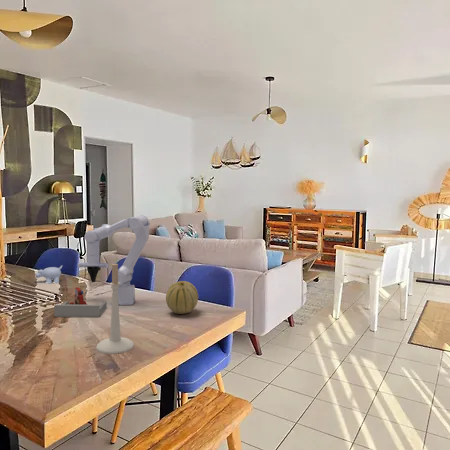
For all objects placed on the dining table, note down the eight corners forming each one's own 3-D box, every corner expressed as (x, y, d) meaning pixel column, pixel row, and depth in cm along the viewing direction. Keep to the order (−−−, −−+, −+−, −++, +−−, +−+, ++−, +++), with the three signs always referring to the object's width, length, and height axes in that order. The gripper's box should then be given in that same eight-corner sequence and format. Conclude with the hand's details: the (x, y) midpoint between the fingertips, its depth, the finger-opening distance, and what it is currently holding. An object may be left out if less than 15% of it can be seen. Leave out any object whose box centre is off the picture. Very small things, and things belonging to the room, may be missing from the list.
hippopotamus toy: (35, 280, 244) (35, 265, 243) (62, 279, 250) (62, 263, 249) (35, 284, 234) (34, 268, 233) (63, 282, 240) (63, 266, 239)
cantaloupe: (191, 307, 196) (191, 276, 194) (203, 315, 182) (203, 282, 181) (161, 310, 189) (161, 278, 188) (171, 319, 176) (171, 285, 175)
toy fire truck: (73, 317, 177) (73, 293, 176) (68, 309, 188) (68, 287, 187) (89, 314, 181) (89, 291, 180) (84, 307, 191) (84, 285, 191)
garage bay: (106, 308, 191) (106, 297, 191) (98, 317, 178) (98, 305, 177) (65, 307, 190) (65, 297, 190) (54, 316, 177) (54, 305, 176)
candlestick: (98, 356, 137) (97, 267, 134) (94, 342, 148) (93, 260, 146) (137, 350, 142) (137, 265, 139) (130, 338, 153) (130, 259, 151)
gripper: (110, 253, 206) (110, 280, 207) (80, 253, 205) (81, 279, 207) (106, 255, 199) (106, 283, 200) (76, 255, 198) (76, 283, 200)
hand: (93, 281), depth 203 cm, fingers closed
